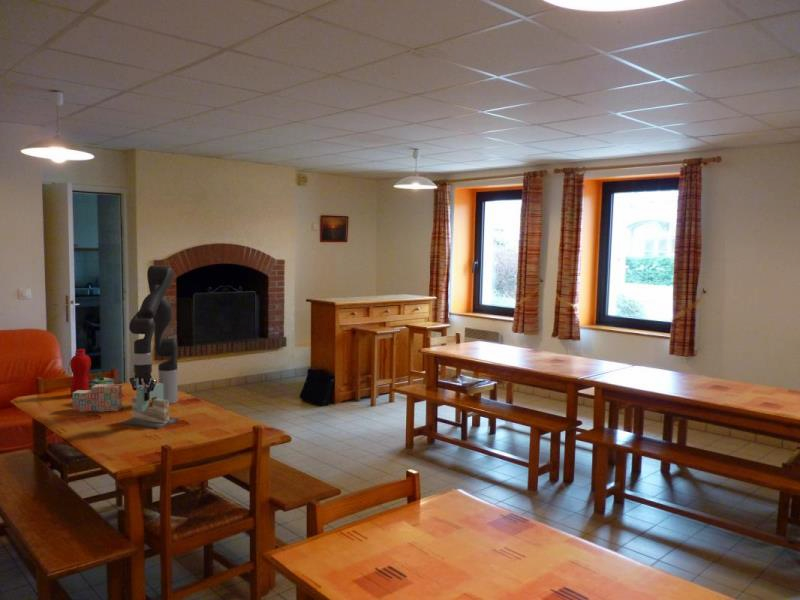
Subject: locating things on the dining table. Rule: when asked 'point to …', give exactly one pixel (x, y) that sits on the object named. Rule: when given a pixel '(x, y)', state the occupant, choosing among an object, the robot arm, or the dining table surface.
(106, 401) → the stack of blocks
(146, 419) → the stand
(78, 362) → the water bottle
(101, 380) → the chalk box
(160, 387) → the sage crossbar
